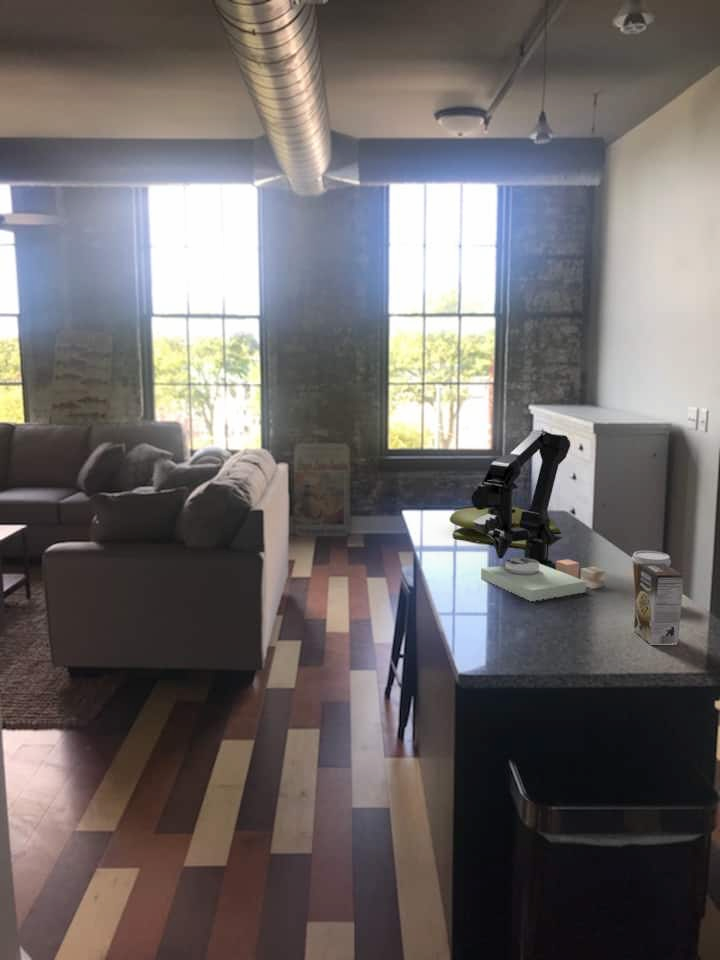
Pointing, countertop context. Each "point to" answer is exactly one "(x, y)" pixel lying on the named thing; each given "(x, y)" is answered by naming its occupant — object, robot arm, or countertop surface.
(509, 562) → the metal puck
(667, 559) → the disposable coffee cup
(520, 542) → the spaceship
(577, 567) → the terracotta cube
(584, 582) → the pocket deck
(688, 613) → the countertop surface
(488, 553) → the countertop surface
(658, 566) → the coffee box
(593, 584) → the birch cube
